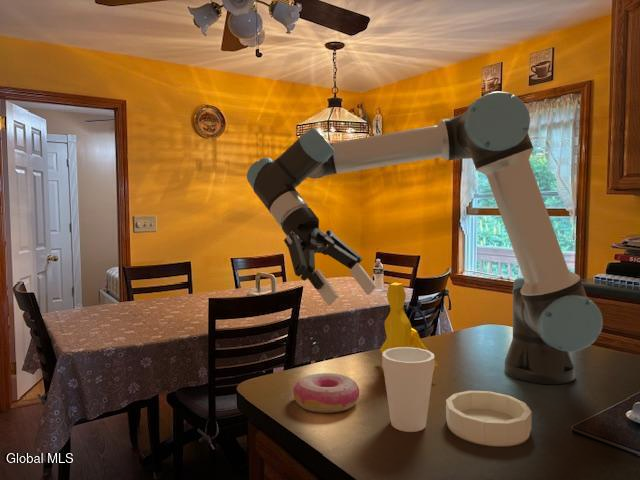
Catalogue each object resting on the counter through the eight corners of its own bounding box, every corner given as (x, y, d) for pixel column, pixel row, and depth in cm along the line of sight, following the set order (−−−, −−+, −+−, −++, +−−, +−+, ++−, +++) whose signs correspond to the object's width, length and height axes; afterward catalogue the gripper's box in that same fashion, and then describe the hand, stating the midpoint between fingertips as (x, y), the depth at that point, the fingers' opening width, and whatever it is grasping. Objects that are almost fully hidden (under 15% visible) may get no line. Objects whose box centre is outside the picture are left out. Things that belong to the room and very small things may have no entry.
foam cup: (435, 438, 82) (435, 364, 81) (381, 433, 84) (380, 361, 83) (433, 414, 91) (433, 348, 90) (384, 411, 93) (384, 346, 92)
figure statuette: (442, 378, 111) (442, 284, 109) (421, 386, 106) (421, 288, 104) (386, 360, 124) (385, 277, 123) (364, 367, 119) (364, 280, 118)
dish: (517, 412, 91) (517, 392, 91) (540, 448, 77) (541, 424, 77) (442, 409, 93) (442, 389, 93) (452, 444, 79) (452, 421, 79)
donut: (369, 412, 93) (369, 387, 92) (303, 422, 89) (303, 396, 89) (346, 388, 106) (346, 366, 105) (287, 396, 102) (287, 373, 101)
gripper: (321, 228, 112) (375, 298, 104) (243, 231, 93) (302, 318, 84) (339, 205, 109) (397, 276, 101) (262, 204, 89) (326, 292, 81)
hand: (354, 295), depth 92 cm, fingers open, 13 cm apart
